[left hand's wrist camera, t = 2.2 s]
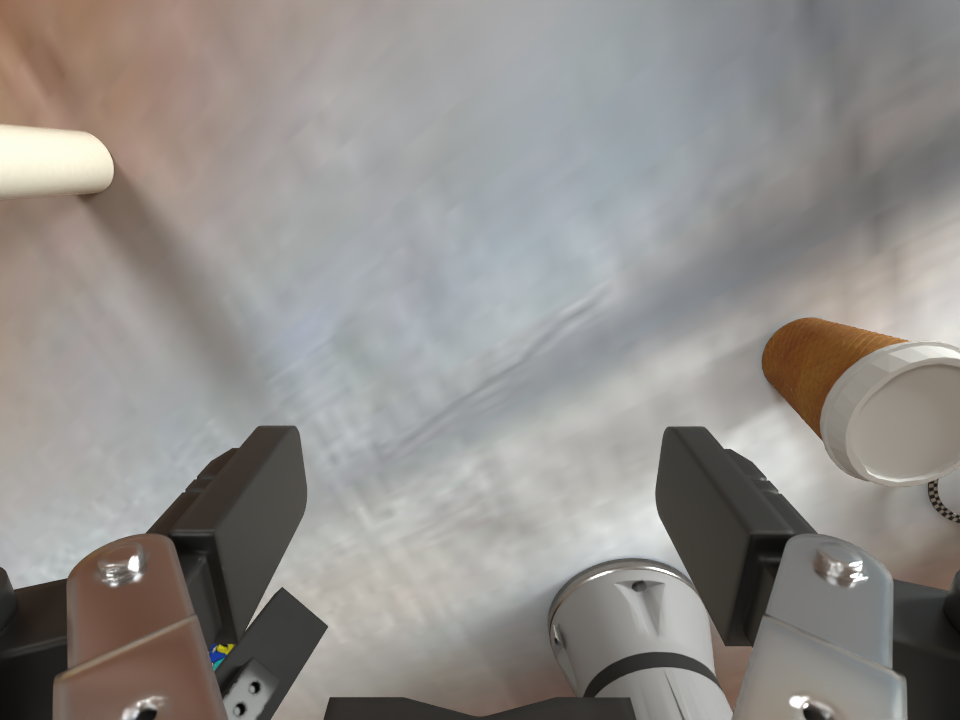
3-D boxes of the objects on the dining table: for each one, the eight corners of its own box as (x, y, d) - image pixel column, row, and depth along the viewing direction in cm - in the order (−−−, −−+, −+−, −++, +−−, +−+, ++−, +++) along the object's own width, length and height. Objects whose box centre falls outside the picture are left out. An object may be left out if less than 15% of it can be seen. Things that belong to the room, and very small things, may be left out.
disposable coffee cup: (741, 307, 40) (843, 363, 29) (867, 288, 40) (1021, 336, 28) (740, 416, 43) (831, 504, 32) (856, 399, 43) (990, 482, 32)
